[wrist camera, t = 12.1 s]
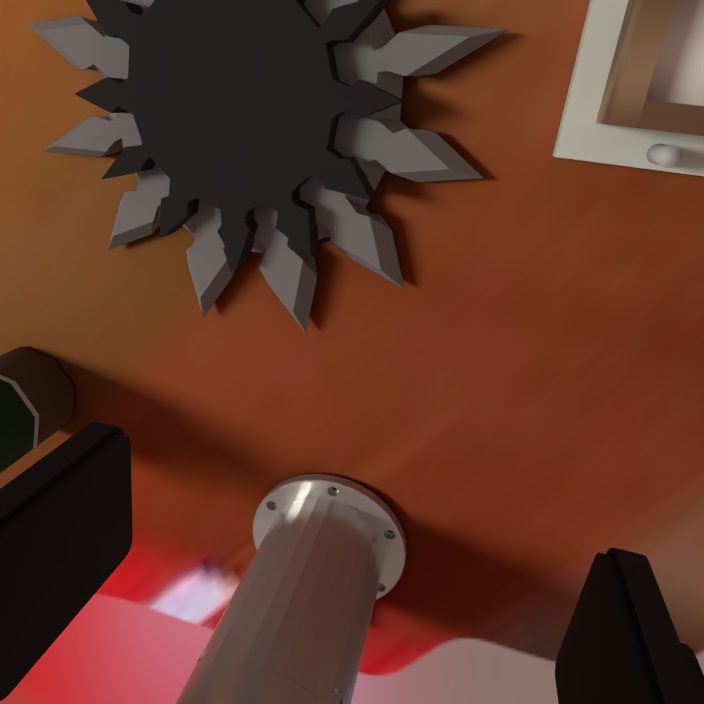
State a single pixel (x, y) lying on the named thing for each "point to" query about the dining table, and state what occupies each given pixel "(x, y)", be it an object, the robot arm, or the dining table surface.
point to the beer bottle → (31, 402)
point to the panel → (585, 99)
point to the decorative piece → (258, 127)
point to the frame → (658, 68)
